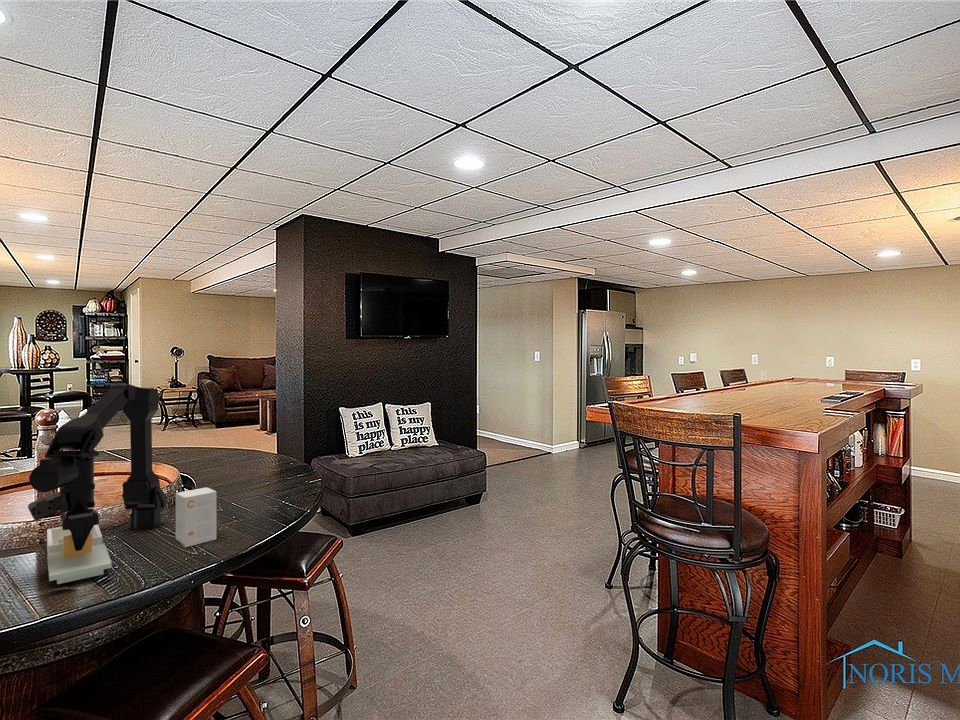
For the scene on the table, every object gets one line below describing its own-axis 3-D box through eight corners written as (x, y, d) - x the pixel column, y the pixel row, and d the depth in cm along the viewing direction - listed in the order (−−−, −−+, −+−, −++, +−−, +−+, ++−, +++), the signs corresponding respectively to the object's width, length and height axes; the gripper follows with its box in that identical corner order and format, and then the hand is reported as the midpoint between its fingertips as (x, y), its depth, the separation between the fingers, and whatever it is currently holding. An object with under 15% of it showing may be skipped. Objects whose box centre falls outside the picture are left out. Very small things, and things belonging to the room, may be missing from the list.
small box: (207, 533, 142) (207, 486, 142) (217, 539, 138) (217, 491, 138) (174, 541, 136) (174, 492, 136) (183, 548, 132) (184, 497, 132)
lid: (47, 565, 117) (47, 536, 116) (104, 553, 123) (104, 526, 123) (49, 588, 106) (49, 556, 106) (111, 574, 112) (111, 544, 112)
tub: (47, 549, 130) (47, 529, 130) (96, 540, 136) (96, 521, 136) (48, 567, 119) (48, 546, 119) (102, 556, 126) (102, 536, 126)
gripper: (30, 477, 119) (31, 544, 119) (31, 495, 105) (31, 572, 105) (91, 470, 126) (91, 533, 127) (99, 486, 112) (99, 558, 113)
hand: (78, 548), depth 118 cm, fingers closed on lid, 2 cm apart
